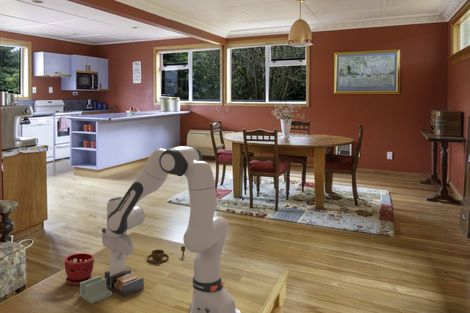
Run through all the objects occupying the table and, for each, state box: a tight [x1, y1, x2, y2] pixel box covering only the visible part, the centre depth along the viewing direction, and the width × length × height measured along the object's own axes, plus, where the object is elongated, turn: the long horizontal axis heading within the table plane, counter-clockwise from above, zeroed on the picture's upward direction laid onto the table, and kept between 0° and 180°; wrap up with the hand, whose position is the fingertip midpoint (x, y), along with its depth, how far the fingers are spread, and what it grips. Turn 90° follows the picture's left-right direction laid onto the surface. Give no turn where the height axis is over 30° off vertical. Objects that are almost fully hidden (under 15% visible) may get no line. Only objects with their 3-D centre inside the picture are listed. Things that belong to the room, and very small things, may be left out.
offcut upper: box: [117, 273, 138, 285], centre depth 185 cm, size 6×7×2 cm
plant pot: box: [64, 252, 95, 286], centre depth 192 cm, size 13×13×12 cm
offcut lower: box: [114, 282, 122, 291], centre depth 185 cm, size 7×9×2 cm
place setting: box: [146, 245, 186, 266], centre depth 220 cm, size 18×20×6 cm
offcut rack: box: [104, 268, 145, 298], centre depth 186 cm, size 15×11×8 cm
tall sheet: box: [108, 251, 128, 276], centre depth 188 cm, size 2×8×15 cm, turn 140°
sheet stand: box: [79, 275, 113, 304], centre depth 178 cm, size 10×10×6 cm
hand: (117, 259), depth 188 cm, fingers closed on tall sheet, 2 cm apart
